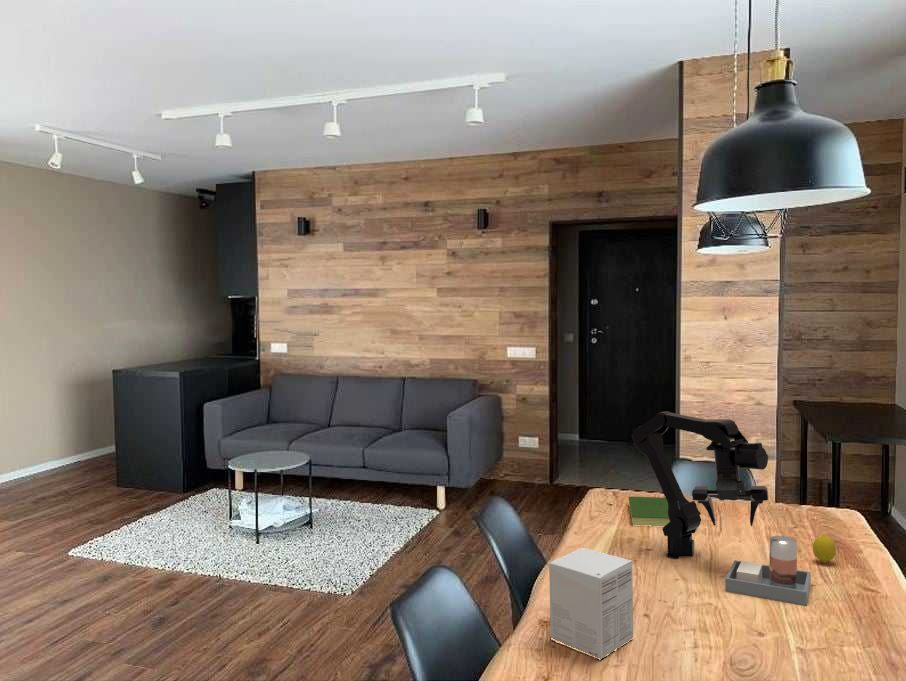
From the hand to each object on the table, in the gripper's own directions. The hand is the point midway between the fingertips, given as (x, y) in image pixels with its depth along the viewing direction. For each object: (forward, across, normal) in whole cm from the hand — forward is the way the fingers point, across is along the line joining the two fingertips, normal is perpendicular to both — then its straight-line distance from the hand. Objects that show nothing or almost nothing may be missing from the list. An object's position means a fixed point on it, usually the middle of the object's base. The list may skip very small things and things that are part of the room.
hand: (732, 525), depth 187 cm
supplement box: (+13, -27, -51) cm, 59 cm away
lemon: (+14, +21, +16) cm, 30 cm away
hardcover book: (+9, -27, +44) cm, 53 cm away
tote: (+14, +8, -10) cm, 18 cm away
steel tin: (+13, +11, -11) cm, 20 cm away
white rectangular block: (+13, +3, -8) cm, 15 cm away
